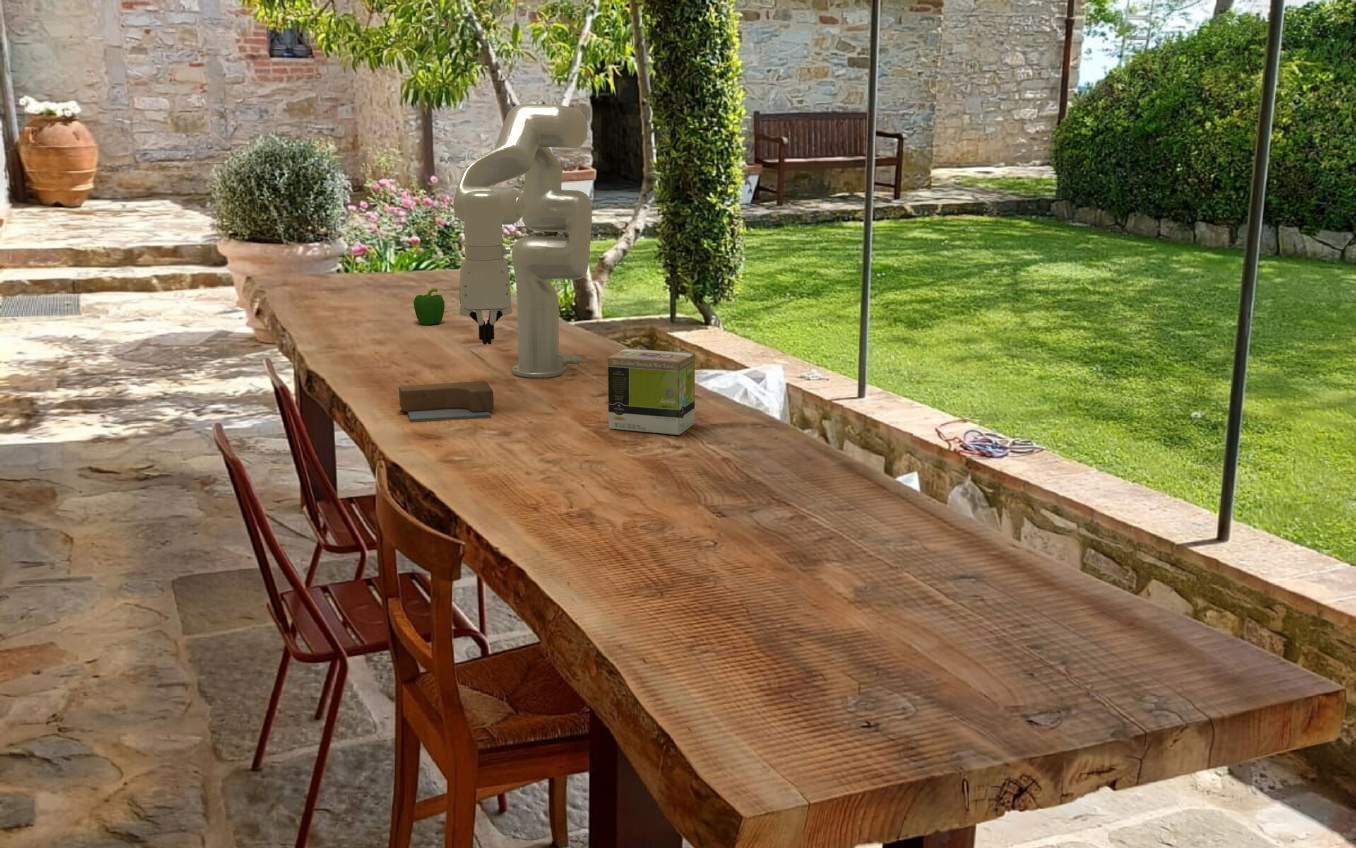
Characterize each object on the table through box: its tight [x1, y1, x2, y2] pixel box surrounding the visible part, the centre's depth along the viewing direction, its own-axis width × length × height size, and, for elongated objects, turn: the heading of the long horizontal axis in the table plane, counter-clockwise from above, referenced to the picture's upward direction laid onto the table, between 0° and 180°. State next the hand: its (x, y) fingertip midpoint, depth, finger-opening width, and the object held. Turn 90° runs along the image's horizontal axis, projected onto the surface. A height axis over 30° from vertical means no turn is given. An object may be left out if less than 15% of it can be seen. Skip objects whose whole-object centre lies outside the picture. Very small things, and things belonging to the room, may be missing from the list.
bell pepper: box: [413, 287, 446, 326], centre depth 358 cm, size 8×8×10 cm
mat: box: [407, 408, 492, 423], centre depth 265 cm, size 16×14×1 cm
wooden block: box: [398, 380, 495, 412], centre depth 264 cm, size 9×4×18 cm
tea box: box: [607, 348, 696, 436], centre depth 253 cm, size 15×10×15 cm
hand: (486, 343), depth 264 cm, fingers closed
